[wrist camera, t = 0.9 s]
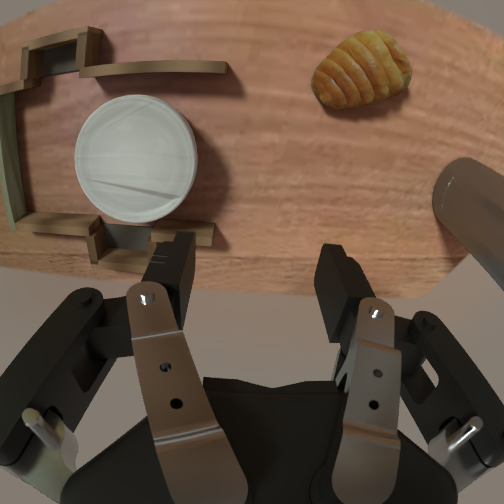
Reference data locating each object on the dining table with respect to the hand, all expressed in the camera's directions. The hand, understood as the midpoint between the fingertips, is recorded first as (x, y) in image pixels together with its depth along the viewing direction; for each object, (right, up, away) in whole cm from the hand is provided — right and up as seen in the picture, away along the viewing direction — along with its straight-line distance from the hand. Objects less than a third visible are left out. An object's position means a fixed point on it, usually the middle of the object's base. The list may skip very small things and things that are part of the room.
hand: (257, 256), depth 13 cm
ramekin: (-10, +10, +14) cm, 20 cm away
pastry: (+10, +17, +11) cm, 23 cm away
